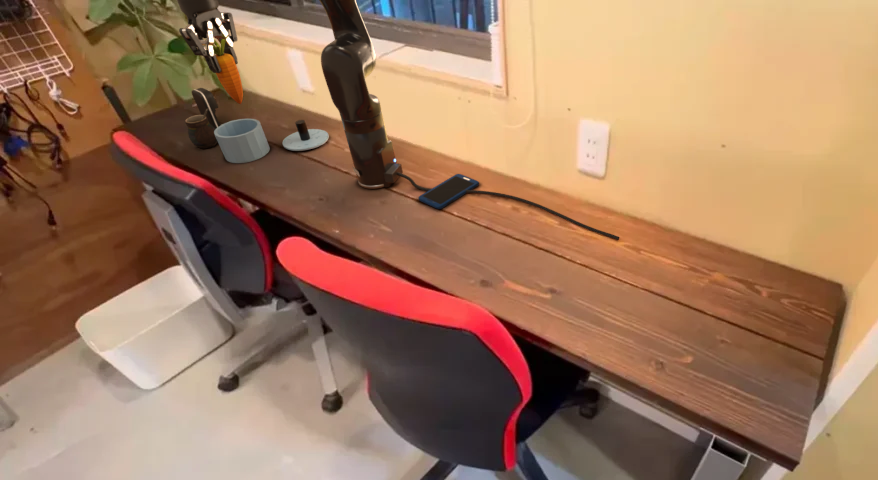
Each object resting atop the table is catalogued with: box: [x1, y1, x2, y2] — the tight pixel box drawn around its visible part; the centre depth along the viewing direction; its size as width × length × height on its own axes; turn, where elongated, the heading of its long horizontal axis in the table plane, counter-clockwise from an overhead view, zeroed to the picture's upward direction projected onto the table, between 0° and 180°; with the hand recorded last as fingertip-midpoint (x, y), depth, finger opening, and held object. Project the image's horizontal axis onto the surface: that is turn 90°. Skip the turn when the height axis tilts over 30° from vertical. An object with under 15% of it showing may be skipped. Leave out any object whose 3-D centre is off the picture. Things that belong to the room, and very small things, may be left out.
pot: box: [214, 118, 271, 164], centre depth 140 cm, size 12×12×7 cm
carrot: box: [205, 39, 244, 105], centre depth 120 cm, size 5×5×15 cm
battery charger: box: [191, 87, 223, 130], centre depth 153 cm, size 7×4×11 cm, turn 50°
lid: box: [282, 119, 330, 152], centre depth 144 cm, size 13×13×6 cm
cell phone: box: [418, 173, 480, 210], centre depth 122 cm, size 7×14×1 cm, turn 140°
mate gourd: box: [184, 108, 218, 150], centre depth 145 cm, size 7×8×10 cm
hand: (225, 67), depth 119 cm, fingers closed on carrot, 5 cm apart
